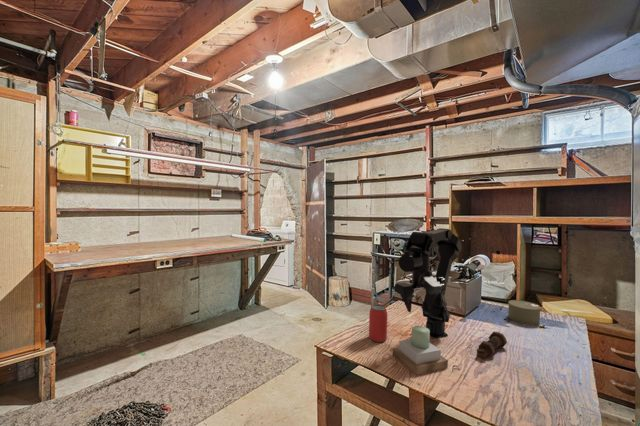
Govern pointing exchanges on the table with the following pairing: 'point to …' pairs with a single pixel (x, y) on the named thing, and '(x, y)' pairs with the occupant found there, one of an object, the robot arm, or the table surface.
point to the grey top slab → (419, 352)
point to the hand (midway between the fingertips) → (419, 310)
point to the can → (524, 312)
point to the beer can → (378, 323)
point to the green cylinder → (420, 337)
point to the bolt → (491, 344)
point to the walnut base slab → (420, 367)
